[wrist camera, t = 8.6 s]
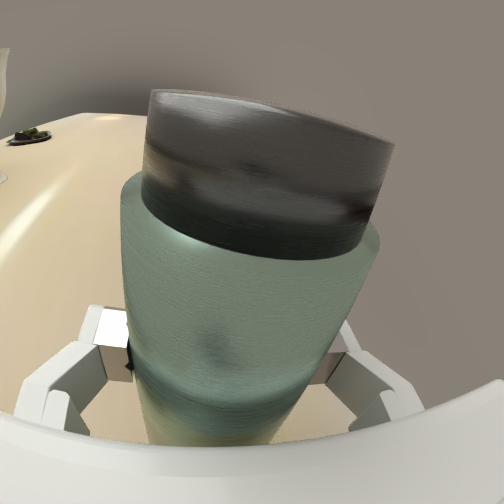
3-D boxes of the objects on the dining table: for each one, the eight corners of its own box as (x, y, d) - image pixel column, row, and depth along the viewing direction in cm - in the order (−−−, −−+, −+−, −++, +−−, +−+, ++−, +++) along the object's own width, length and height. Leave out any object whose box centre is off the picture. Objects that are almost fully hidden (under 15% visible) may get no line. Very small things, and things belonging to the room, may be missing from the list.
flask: (227, 508, 10) (451, 178, 2) (132, 457, 12) (64, 91, 4) (267, 430, 15) (399, 141, 7) (183, 390, 16) (219, 92, 8)
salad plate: (11, 138, 78) (12, 127, 76) (51, 132, 89) (52, 121, 87) (4, 149, 66) (4, 136, 64) (51, 142, 77) (51, 128, 75)
